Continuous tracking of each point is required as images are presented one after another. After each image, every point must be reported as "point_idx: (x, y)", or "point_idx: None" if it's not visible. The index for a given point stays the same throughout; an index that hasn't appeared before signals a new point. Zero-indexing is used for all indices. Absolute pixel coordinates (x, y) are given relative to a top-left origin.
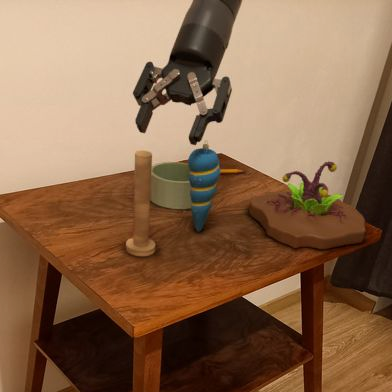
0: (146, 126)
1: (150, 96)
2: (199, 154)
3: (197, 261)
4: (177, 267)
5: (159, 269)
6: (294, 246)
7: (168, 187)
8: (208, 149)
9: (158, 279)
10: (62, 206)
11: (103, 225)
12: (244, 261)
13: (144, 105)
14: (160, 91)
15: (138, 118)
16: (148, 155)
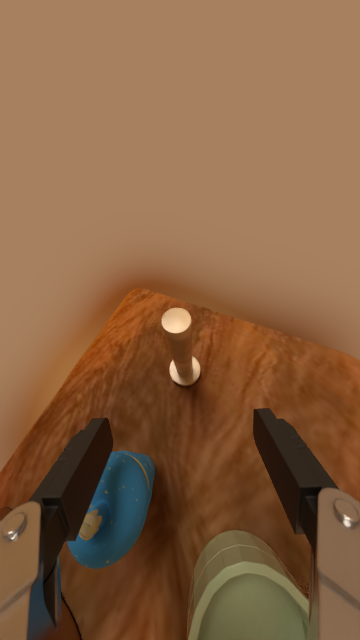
0: (262, 452)
1: (340, 543)
2: (107, 476)
3: (125, 384)
4: (138, 361)
5: (151, 349)
6: (4, 507)
7: (234, 554)
8: (91, 552)
9: (145, 335)
10: (333, 411)
11: (252, 395)
12: (77, 417)
13: (311, 474)
14: (315, 618)
15: (286, 431)
16: (164, 317)
